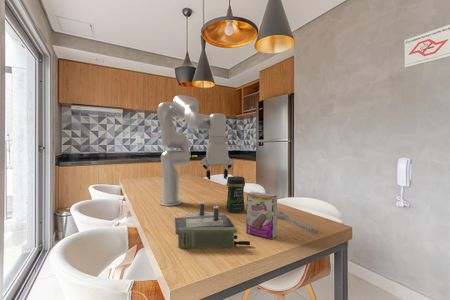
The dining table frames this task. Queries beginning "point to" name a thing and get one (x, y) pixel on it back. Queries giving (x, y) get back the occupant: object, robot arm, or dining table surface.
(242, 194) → the coffee jar
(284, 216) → the adjustable wrench
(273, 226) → the candy bar box
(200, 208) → the handle
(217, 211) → the handle
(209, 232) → the handheld radio
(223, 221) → the breaker panel
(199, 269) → the dining table surface
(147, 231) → the dining table surface
